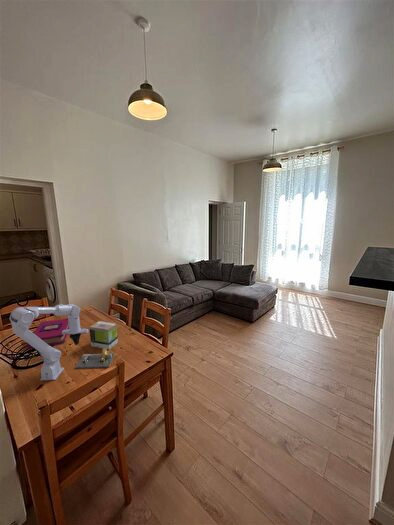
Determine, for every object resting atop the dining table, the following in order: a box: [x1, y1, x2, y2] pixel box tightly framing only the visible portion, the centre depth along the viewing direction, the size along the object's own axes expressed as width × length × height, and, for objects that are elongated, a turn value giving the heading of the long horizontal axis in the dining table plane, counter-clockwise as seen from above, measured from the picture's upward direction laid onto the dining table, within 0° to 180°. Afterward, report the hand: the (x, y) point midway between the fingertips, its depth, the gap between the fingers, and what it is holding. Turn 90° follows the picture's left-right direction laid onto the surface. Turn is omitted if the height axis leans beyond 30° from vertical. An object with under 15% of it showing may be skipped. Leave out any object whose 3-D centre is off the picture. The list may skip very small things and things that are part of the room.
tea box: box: [89, 320, 119, 350], centre depth 150 cm, size 15×10×15 cm, turn 74°
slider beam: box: [81, 352, 113, 362], centre depth 133 cm, size 5×17×2 cm, turn 95°
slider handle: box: [100, 348, 109, 361], centre depth 133 cm, size 6×3×5 cm, turn 5°
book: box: [26, 317, 69, 350], centre depth 160 cm, size 21×28×8 cm
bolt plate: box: [75, 353, 115, 369], centre depth 133 cm, size 11×19×1 cm, turn 95°
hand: (76, 343), depth 133 cm, fingers closed
